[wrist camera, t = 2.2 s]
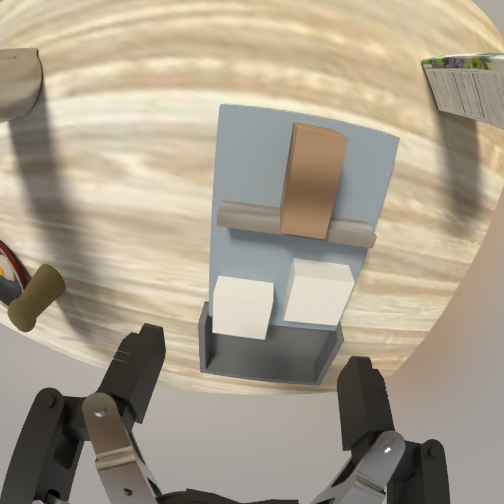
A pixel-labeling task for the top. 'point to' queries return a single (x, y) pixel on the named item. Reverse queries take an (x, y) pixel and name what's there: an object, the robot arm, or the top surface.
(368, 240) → the scraper
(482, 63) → the syrup box
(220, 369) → the tray
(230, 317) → the tile
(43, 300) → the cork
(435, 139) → the top surface
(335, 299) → the tile
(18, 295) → the frying pan
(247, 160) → the board
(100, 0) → the top surface
